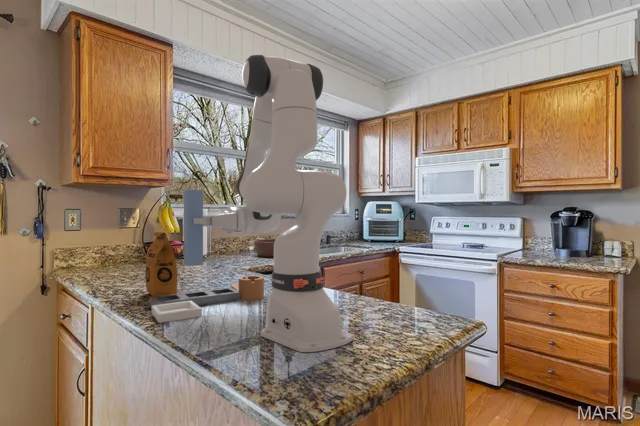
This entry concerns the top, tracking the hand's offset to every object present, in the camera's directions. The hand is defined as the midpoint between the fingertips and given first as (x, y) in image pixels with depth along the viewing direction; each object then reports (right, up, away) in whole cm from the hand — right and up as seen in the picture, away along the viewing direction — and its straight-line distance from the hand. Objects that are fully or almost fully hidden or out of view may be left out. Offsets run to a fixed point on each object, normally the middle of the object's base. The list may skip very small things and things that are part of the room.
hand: (190, 221), depth 112 cm
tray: (0, -26, -11) cm, 28 cm away
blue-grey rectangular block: (+1, -14, 0) cm, 14 cm away
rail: (+1, -26, +3) cm, 26 cm away
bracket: (+15, -26, +14) cm, 33 cm away
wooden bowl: (+9, -26, +129) cm, 132 cm away
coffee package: (-15, -26, +14) cm, 33 cm away
